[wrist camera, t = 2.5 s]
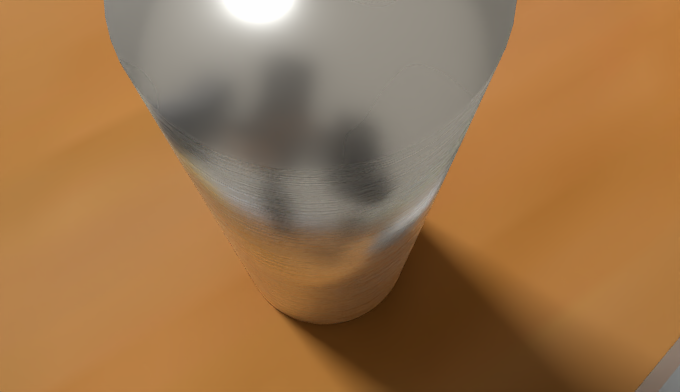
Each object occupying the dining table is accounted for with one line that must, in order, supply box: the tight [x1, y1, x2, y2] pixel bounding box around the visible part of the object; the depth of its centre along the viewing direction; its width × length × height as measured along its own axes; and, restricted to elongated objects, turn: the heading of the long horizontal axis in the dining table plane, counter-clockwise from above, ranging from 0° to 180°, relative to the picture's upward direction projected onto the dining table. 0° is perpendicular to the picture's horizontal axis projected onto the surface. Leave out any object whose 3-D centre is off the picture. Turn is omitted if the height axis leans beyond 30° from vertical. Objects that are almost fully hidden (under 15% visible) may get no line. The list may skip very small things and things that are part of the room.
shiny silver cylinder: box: [104, 0, 517, 324], centre depth 14 cm, size 5×5×13 cm
